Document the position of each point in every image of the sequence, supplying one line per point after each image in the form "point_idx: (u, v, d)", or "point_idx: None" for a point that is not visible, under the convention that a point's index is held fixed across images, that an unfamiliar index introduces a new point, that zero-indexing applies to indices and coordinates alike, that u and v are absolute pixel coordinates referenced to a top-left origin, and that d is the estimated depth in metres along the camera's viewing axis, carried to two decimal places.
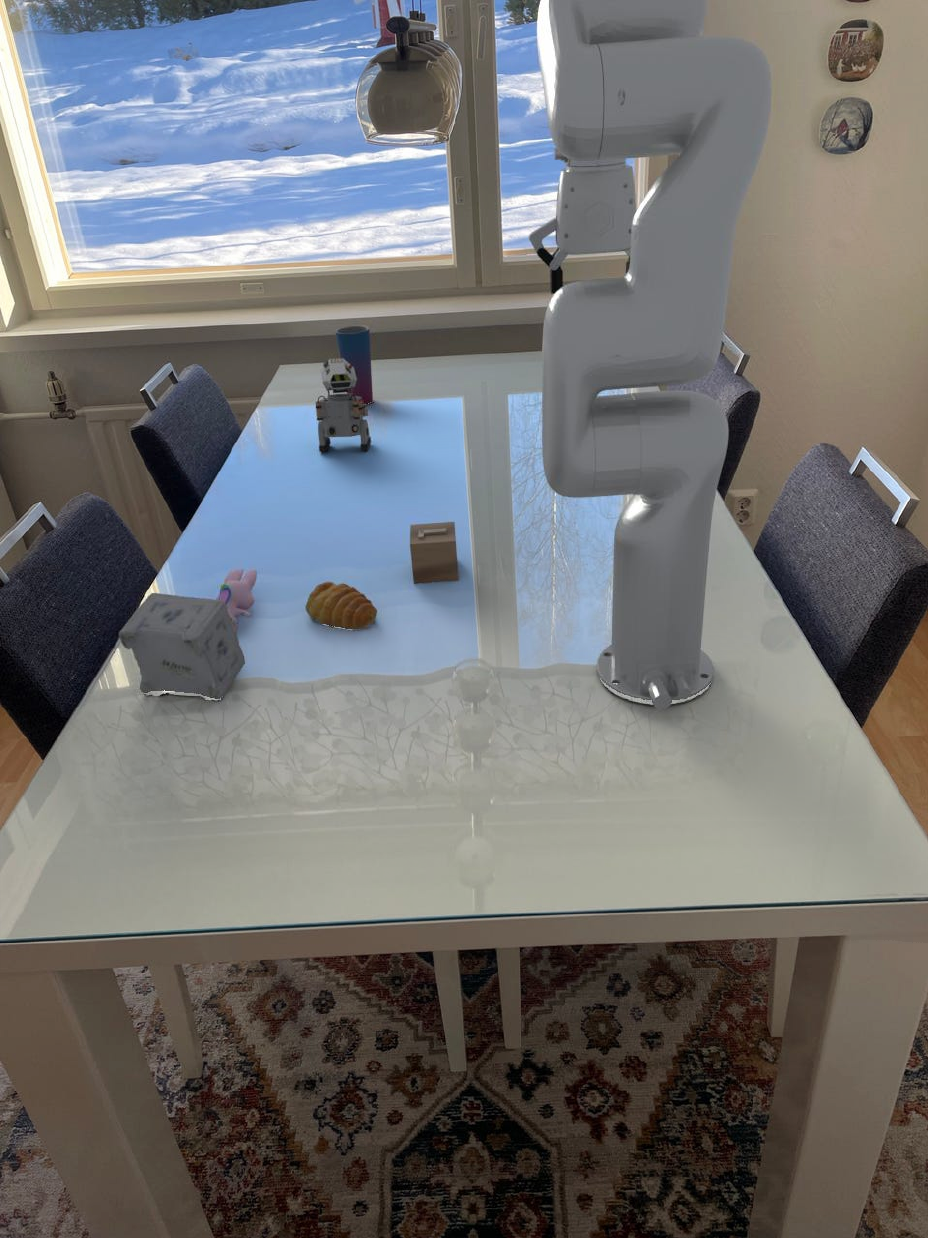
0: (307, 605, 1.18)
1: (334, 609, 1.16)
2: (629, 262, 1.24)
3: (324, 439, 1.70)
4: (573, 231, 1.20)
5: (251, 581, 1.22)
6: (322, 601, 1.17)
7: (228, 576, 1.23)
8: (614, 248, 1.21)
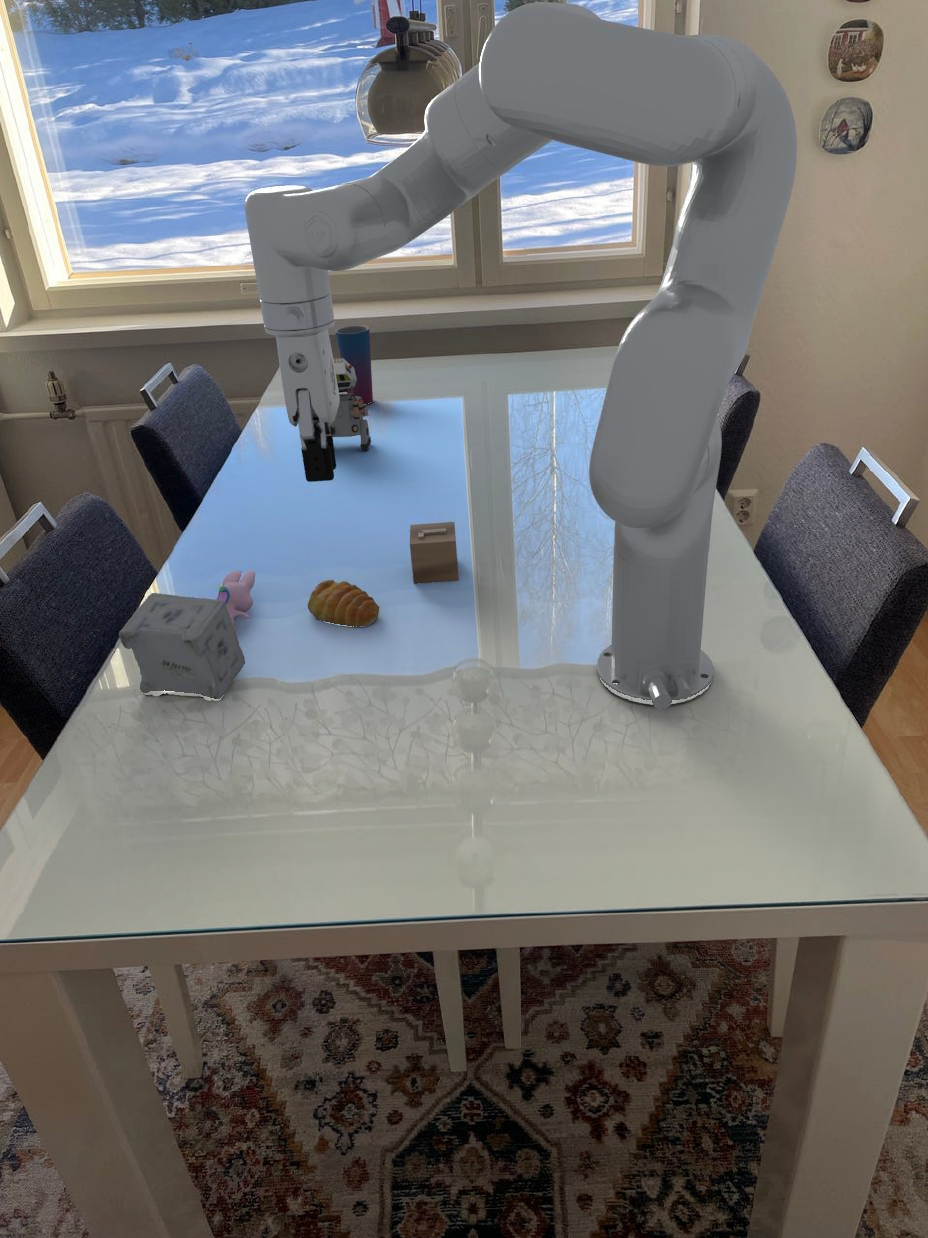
0: (309, 603, 1.19)
1: (336, 607, 1.16)
2: None
3: None
4: (331, 397, 1.02)
5: (249, 583, 1.22)
6: (324, 599, 1.17)
7: (226, 578, 1.22)
8: (338, 403, 1.07)
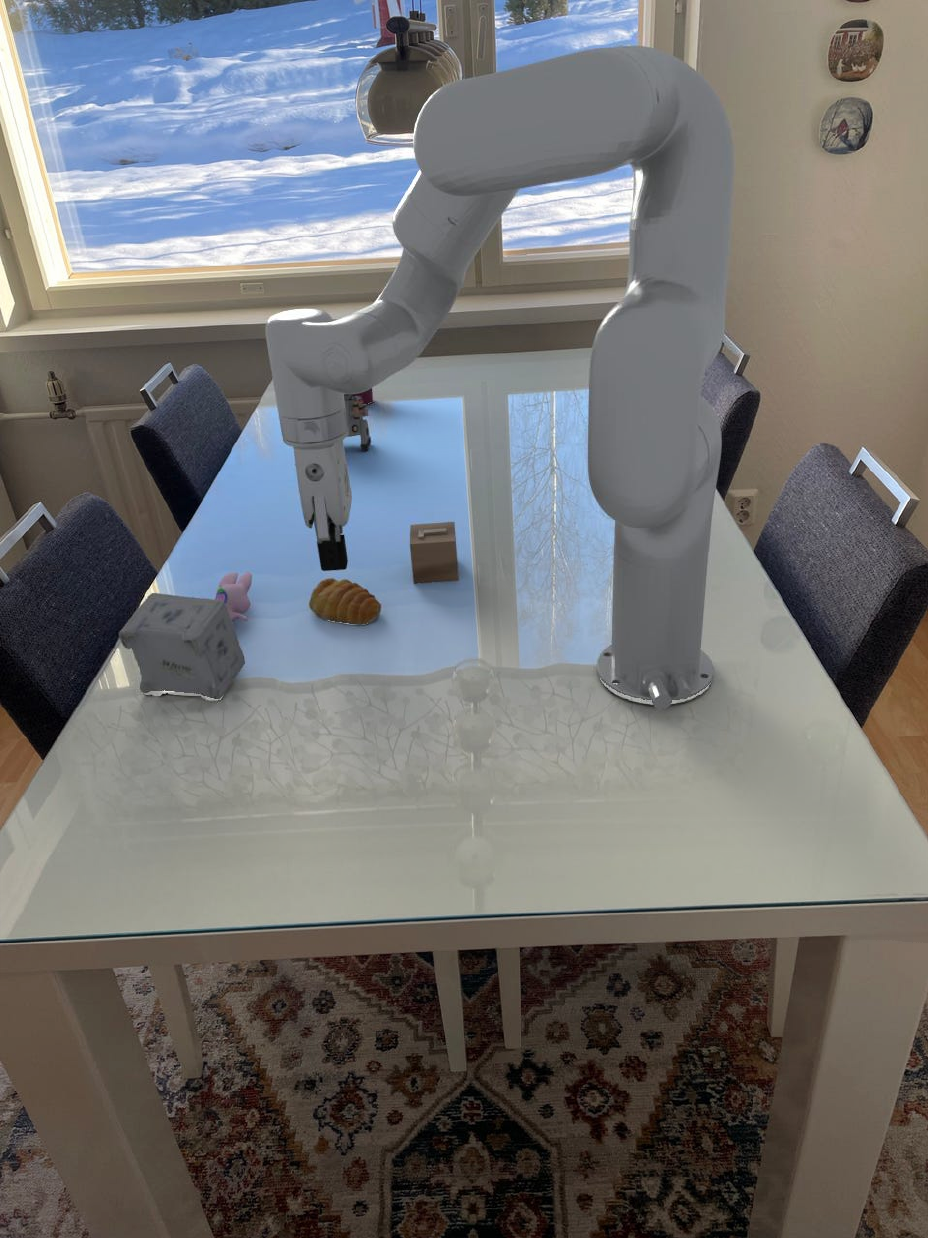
0: (311, 602, 1.19)
1: (338, 605, 1.17)
2: None
3: None
4: (345, 501, 1.08)
5: (246, 584, 1.21)
6: (326, 597, 1.18)
7: (223, 580, 1.22)
8: None
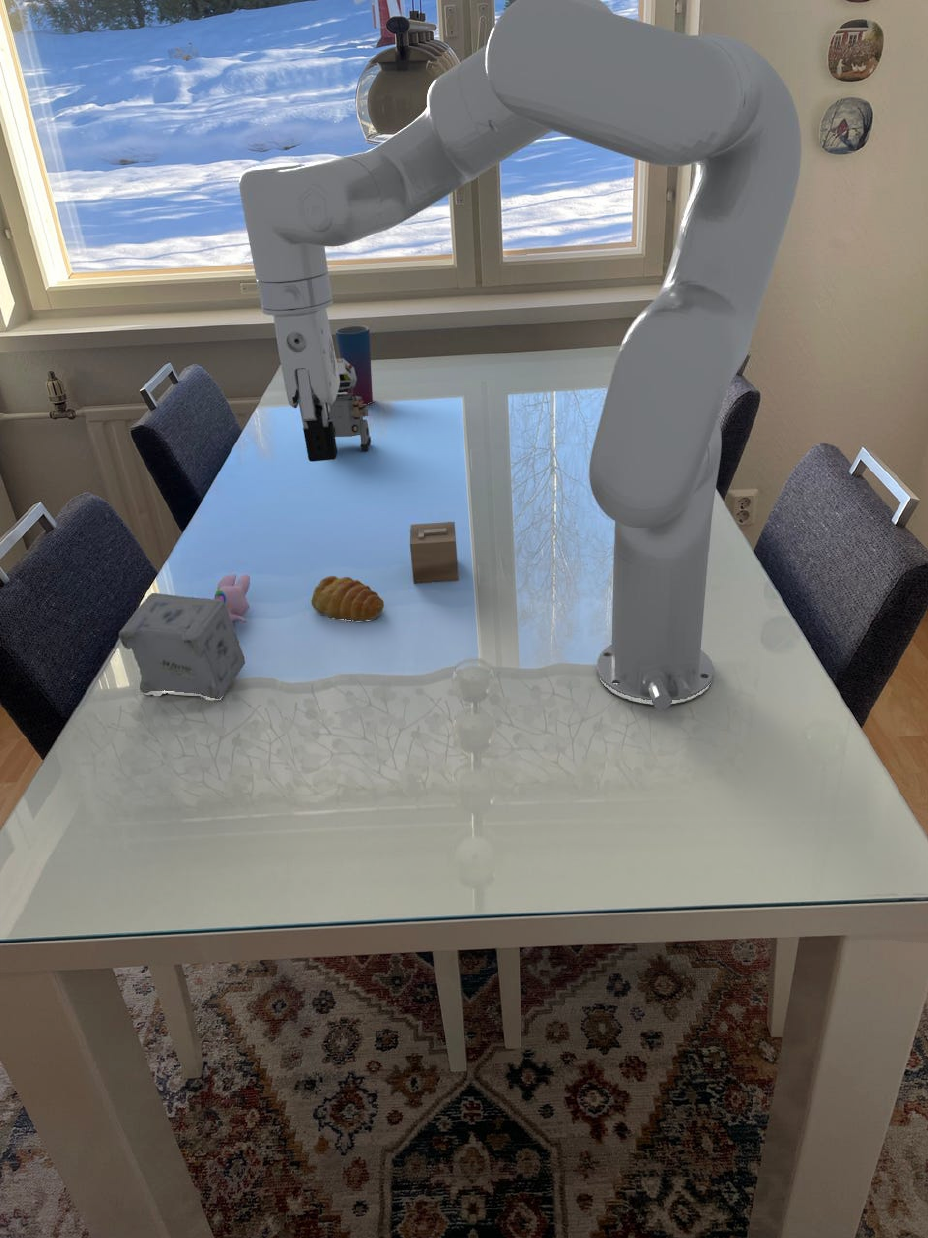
0: (313, 599, 1.19)
1: (342, 602, 1.17)
2: None
3: None
4: (331, 377, 1.00)
5: (245, 586, 1.21)
6: (329, 594, 1.18)
7: (221, 582, 1.22)
8: (338, 385, 1.06)
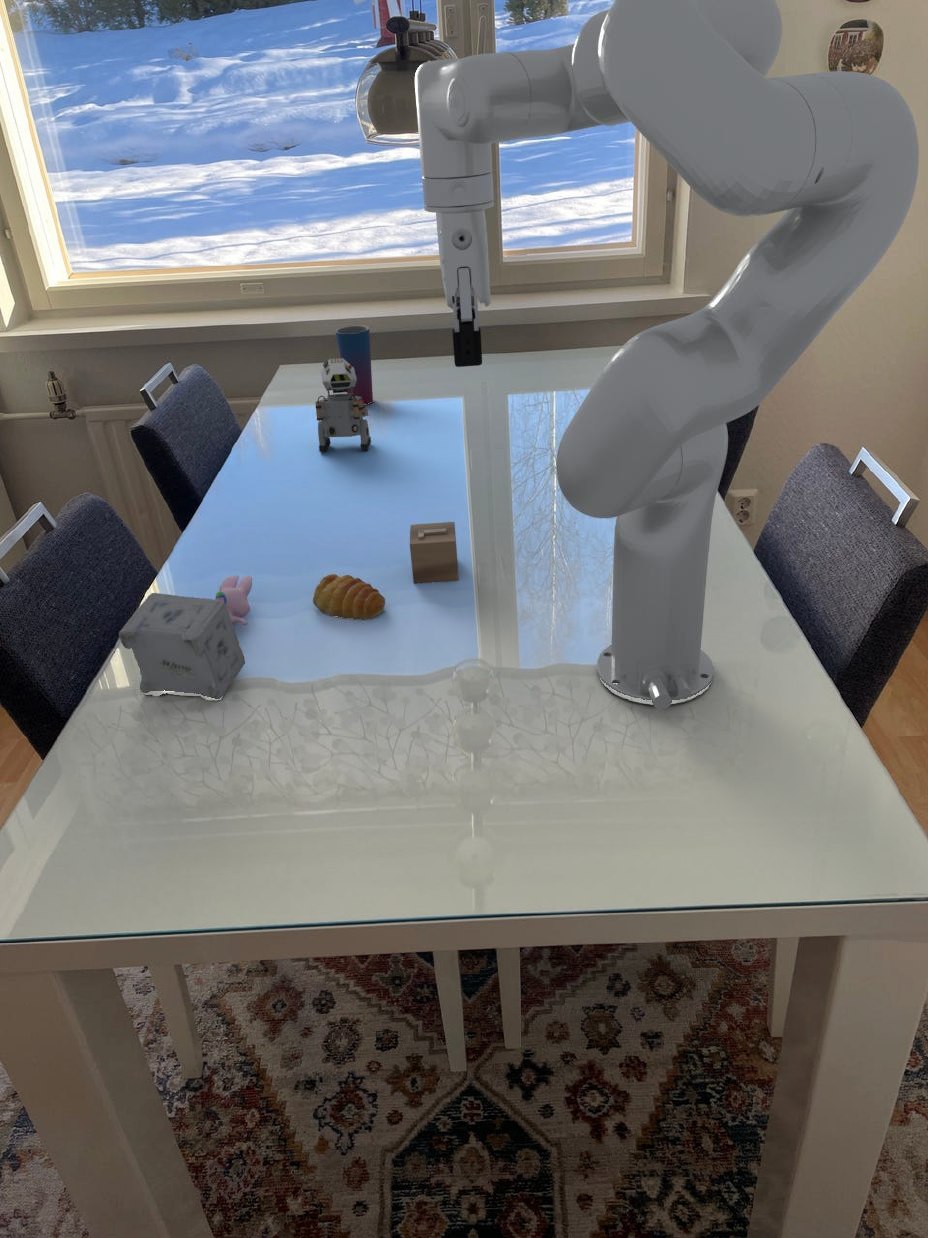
0: (314, 598, 1.20)
1: (343, 600, 1.18)
2: None
3: (324, 439, 1.70)
4: None
5: (247, 588, 1.20)
6: (330, 592, 1.19)
7: (223, 583, 1.21)
8: None
